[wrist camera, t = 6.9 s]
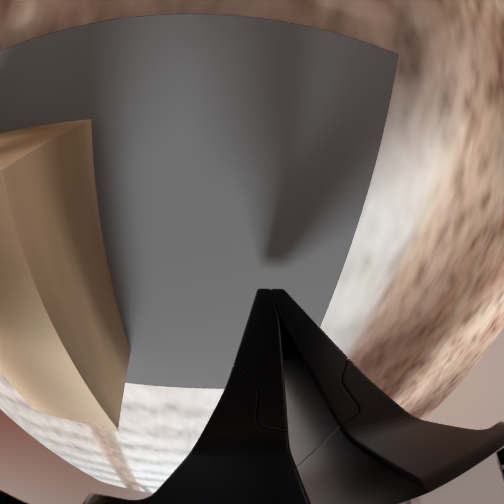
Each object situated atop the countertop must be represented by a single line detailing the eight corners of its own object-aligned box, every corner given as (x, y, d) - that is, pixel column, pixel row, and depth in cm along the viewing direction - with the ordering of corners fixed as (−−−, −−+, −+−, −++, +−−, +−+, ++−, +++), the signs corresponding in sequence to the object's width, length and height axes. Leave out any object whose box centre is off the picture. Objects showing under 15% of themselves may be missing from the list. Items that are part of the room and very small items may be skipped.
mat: (384, 53, 7) (398, 54, 6) (291, 374, 16) (293, 386, 15) (-62, 86, 4) (-74, 91, 4) (22, 352, 13) (18, 361, 13)
